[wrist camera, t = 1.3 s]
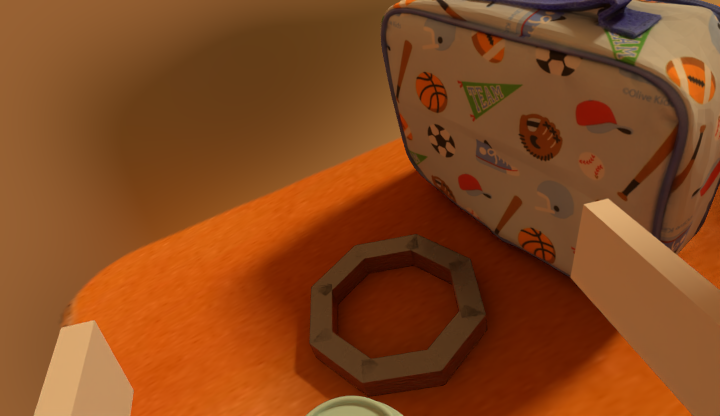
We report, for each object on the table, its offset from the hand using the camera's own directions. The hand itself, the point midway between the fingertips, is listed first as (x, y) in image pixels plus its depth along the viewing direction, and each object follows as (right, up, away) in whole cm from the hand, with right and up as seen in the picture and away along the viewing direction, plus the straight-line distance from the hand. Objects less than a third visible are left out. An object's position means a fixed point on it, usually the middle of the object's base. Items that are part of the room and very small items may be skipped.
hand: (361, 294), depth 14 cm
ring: (+3, -6, +29) cm, 30 cm away
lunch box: (+16, +1, +33) cm, 37 cm away
